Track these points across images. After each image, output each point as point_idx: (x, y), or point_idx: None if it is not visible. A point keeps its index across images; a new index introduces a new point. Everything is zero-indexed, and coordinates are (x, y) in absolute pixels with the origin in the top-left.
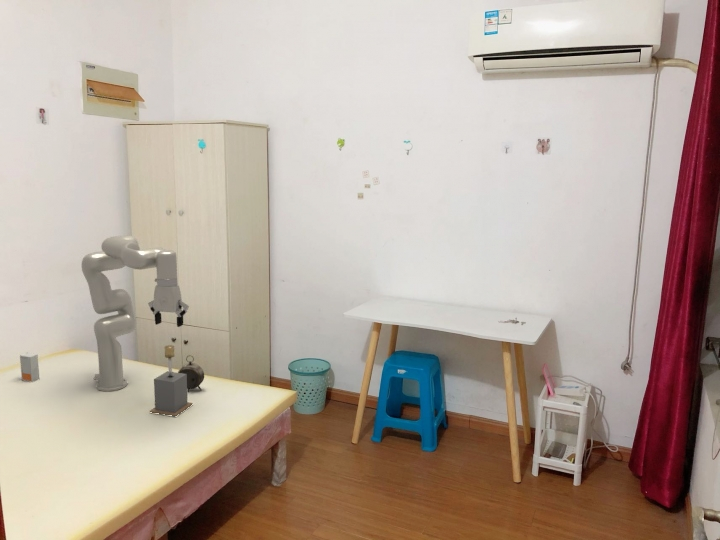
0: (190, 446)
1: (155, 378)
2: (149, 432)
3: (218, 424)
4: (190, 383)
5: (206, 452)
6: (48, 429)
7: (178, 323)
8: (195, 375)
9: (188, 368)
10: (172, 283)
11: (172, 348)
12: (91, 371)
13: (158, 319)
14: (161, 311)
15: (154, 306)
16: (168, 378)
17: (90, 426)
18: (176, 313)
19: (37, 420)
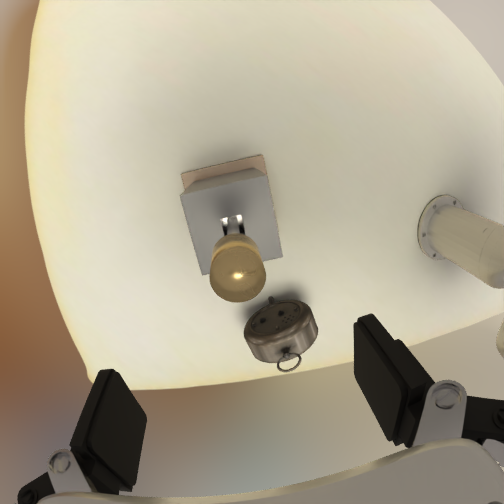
0: (59, 102)
1: (266, 183)
2: (177, 82)
3: (77, 206)
4: (268, 312)
5: (25, 110)
6: (381, 11)
7: (90, 393)
8: (256, 331)
9: (278, 335)
10: None
11: (210, 274)
12: None
13: (372, 372)
14: (311, 480)
15: (490, 482)
16: (224, 209)
17: (326, 42)
18: (81, 487)
19: (428, 37)
